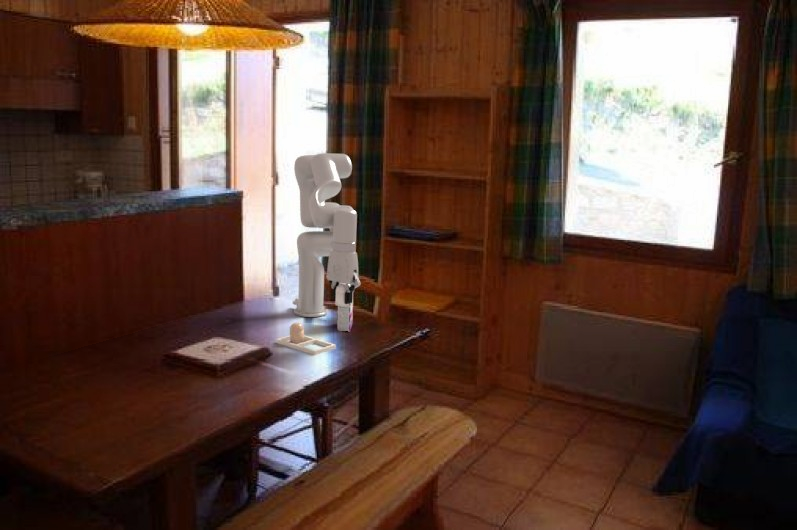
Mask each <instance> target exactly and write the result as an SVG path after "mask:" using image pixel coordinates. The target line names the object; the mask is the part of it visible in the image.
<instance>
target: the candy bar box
mask: <svg viewBox="0 0 797 530" xmlns="http://www.w3.org/2000/svg"><path fill="white" fill-rule="evenodd" d="M340 284H344V283H340ZM349 287H350V284H349ZM336 306H337V305H336ZM336 309H337V311H336V312H337V313H336V314H337V316H336V317H337V318H336V331H339V332H342V331H348V332H347V333H350V332H351V329H352V326H353V323H354V321H353V320H354V319H353V318H354V317H353V315H354V313H353V311H354V298H353V299H352V303H350V304H349V305H348V306H337V308H336Z"/></svg>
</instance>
